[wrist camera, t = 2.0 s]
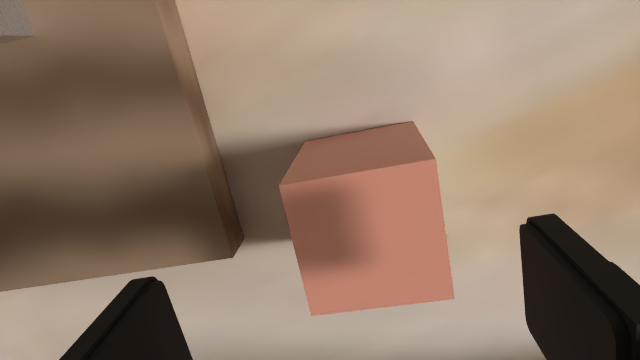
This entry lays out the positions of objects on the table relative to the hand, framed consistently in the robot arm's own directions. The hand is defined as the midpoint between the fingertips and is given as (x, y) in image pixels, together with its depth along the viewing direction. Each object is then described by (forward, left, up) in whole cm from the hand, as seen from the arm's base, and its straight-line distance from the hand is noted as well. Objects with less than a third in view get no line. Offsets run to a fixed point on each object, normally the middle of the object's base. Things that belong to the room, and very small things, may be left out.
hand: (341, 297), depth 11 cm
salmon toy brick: (-1, -1, -10) cm, 10 cm away
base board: (+6, +13, -10) cm, 18 cm away
